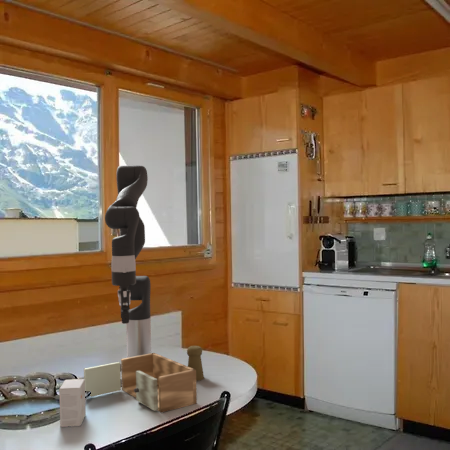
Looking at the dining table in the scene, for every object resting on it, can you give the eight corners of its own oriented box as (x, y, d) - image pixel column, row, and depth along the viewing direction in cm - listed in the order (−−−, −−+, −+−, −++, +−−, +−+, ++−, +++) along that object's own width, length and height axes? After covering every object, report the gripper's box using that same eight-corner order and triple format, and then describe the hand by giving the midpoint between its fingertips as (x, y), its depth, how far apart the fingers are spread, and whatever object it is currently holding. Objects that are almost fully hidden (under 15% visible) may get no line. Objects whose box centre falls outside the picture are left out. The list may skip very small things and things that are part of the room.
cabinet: (114, 391, 170) (113, 360, 170) (154, 382, 179) (154, 352, 179) (153, 414, 149) (152, 379, 149) (196, 403, 158) (196, 369, 158)
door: (119, 387, 172) (119, 360, 172) (122, 389, 170) (122, 362, 170) (83, 396, 165) (82, 367, 165) (85, 397, 163) (85, 369, 163)
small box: (65, 416, 150) (65, 379, 150) (86, 415, 150) (85, 378, 150) (59, 427, 142) (58, 388, 142) (80, 426, 142) (79, 387, 142)
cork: (201, 381, 179) (200, 348, 179) (184, 380, 180) (183, 348, 180) (205, 375, 185) (205, 344, 185) (189, 375, 186) (188, 344, 186)
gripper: (111, 268, 174) (112, 317, 175) (111, 272, 160) (113, 325, 161) (134, 267, 176) (135, 315, 176) (137, 271, 162) (138, 324, 162)
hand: (124, 320), depth 169 cm, fingers open, 8 cm apart
